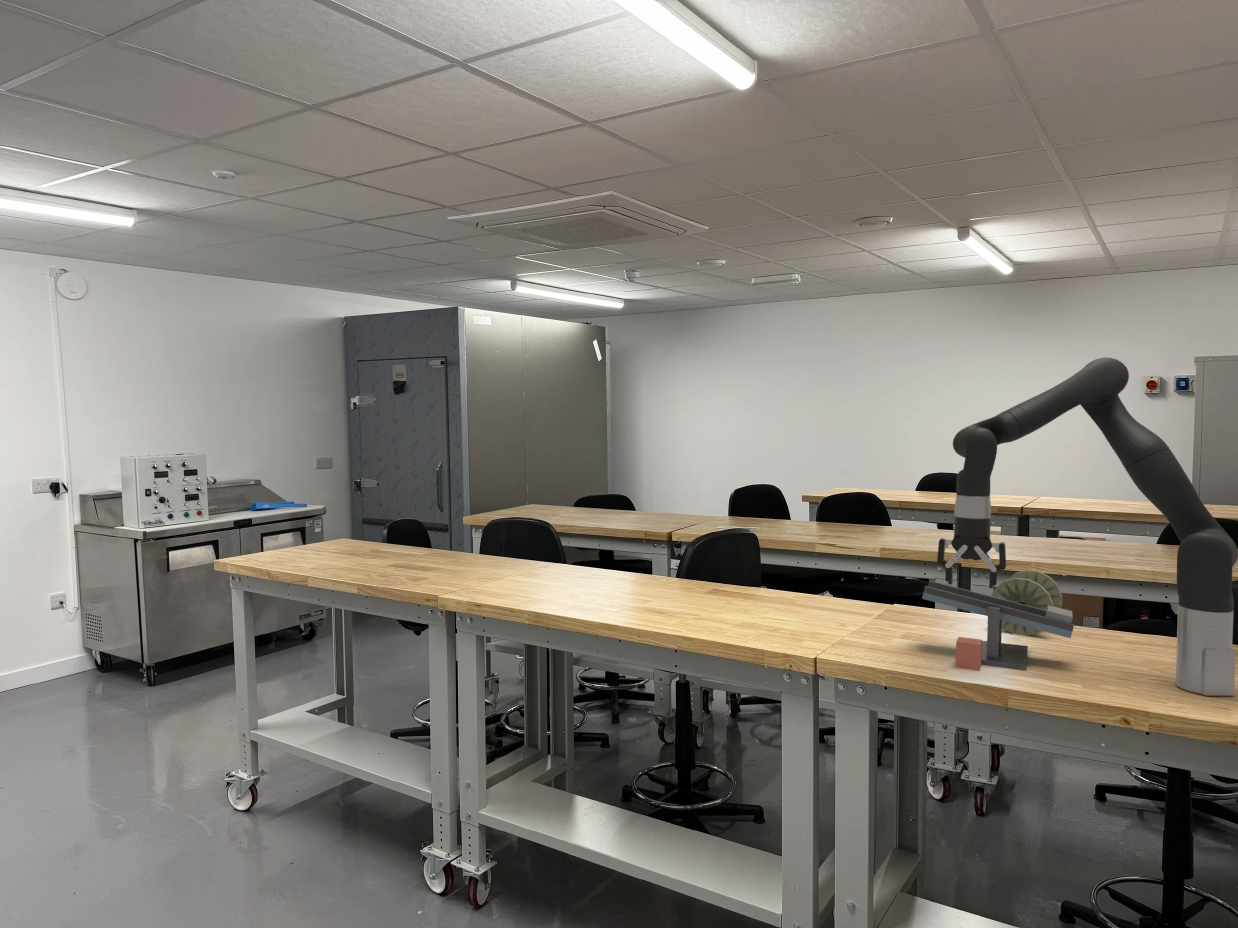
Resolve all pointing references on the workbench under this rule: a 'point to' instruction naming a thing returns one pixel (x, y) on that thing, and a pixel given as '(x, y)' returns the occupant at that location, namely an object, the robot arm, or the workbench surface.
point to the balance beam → (1002, 608)
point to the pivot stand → (1001, 646)
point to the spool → (1028, 596)
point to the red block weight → (968, 653)
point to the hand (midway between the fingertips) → (970, 585)
